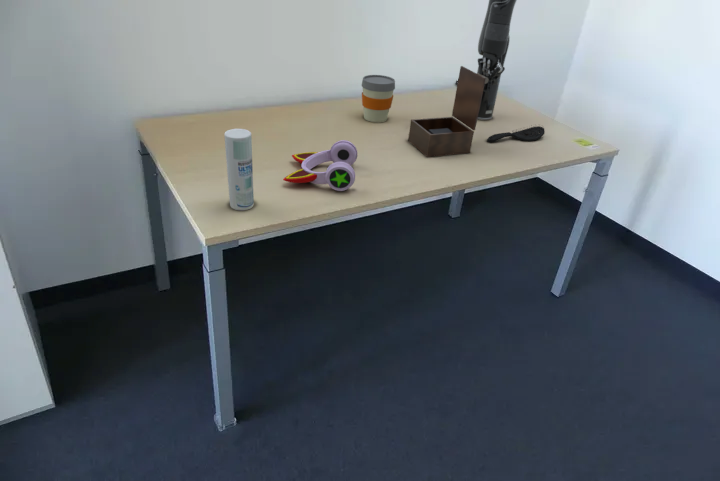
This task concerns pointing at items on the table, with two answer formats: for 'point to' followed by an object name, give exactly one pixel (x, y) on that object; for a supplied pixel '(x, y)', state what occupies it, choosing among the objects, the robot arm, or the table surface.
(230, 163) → the spray can
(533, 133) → the hairbrush
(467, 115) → the case lid
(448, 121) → the case
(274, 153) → the table surface
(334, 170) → the headphones
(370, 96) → the reusable coffee cup
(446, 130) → the duster
